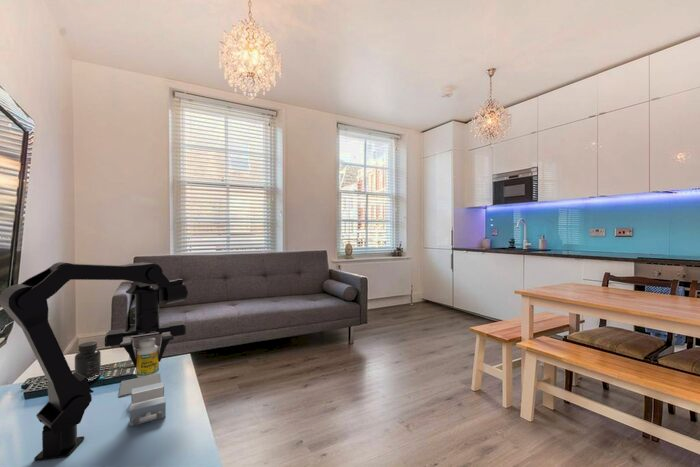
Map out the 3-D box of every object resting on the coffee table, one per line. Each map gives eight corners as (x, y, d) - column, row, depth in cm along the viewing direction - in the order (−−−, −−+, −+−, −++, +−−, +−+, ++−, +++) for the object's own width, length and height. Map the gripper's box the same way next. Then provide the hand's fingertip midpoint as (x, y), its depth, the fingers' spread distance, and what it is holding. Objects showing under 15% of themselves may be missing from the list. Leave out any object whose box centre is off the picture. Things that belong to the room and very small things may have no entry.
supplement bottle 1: (69, 382, 106) (69, 346, 105) (91, 373, 112) (91, 339, 112) (84, 385, 104) (84, 348, 103) (105, 376, 110) (105, 341, 110)
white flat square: (161, 387, 102) (161, 386, 102) (118, 397, 96) (118, 395, 96) (160, 374, 112) (160, 373, 112) (121, 382, 106) (121, 381, 106)
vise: (166, 422, 84) (166, 407, 84) (129, 432, 80) (128, 416, 80) (163, 394, 98) (163, 381, 98) (132, 402, 94) (131, 388, 94)
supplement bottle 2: (156, 368, 94) (156, 335, 94) (161, 374, 90) (160, 340, 90) (134, 373, 90) (134, 339, 90) (138, 380, 86) (138, 344, 86)
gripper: (182, 298, 102) (182, 347, 102) (108, 306, 92) (109, 360, 92) (185, 305, 92) (186, 360, 92) (104, 314, 82) (104, 375, 82)
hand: (147, 363), depth 90 cm, fingers closed on supplement bottle 2, 5 cm apart
